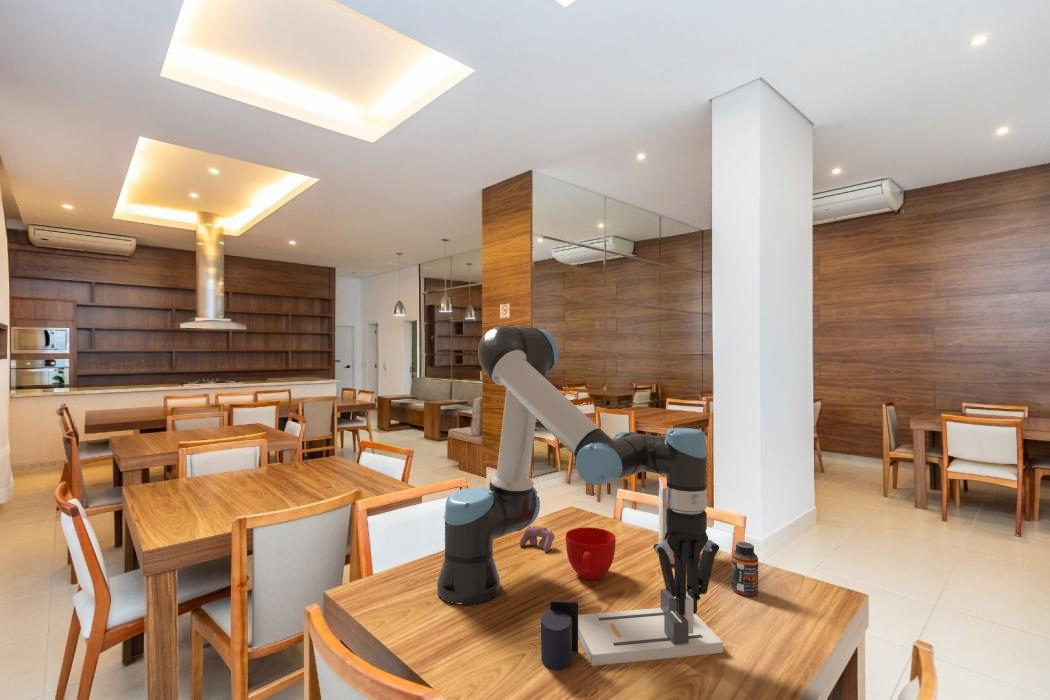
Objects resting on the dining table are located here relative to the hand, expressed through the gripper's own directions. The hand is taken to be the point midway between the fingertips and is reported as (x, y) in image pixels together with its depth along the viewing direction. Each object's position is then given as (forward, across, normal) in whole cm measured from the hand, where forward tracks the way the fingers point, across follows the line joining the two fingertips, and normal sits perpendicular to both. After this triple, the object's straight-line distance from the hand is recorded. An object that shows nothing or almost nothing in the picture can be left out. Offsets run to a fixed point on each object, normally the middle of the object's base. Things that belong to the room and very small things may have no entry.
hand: (686, 629), depth 95 cm
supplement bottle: (+4, +25, +19) cm, 32 cm away
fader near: (+1, -2, 0) cm, 3 cm away
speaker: (+4, -25, 0) cm, 26 cm away
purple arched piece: (+4, -19, +54) cm, 58 cm away
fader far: (+1, +1, +9) cm, 9 cm away
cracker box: (+4, +18, +42) cm, 46 cm away
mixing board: (+3, -7, +4) cm, 9 cm away
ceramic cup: (+4, -10, +32) cm, 34 cm away
